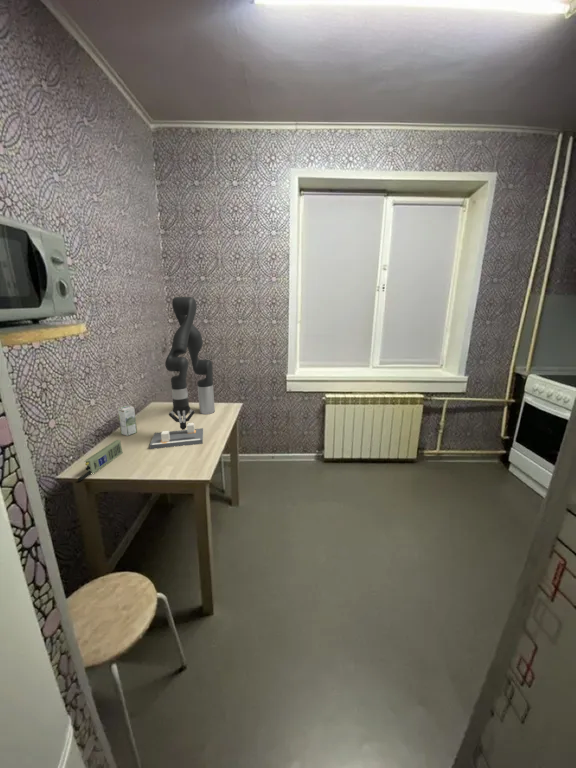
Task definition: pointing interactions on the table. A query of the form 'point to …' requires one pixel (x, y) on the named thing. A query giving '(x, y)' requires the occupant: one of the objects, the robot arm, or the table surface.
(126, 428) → the syrup box
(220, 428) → the table surface
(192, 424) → the inner switch
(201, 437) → the switch panel
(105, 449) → the handheld radio
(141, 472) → the table surface
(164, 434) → the outer switch
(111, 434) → the table surface
